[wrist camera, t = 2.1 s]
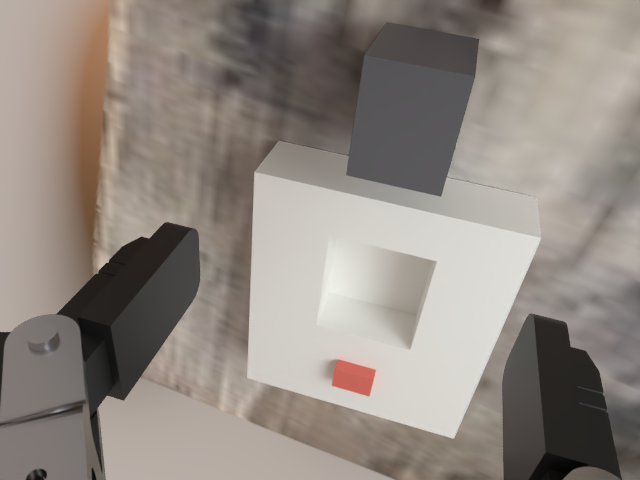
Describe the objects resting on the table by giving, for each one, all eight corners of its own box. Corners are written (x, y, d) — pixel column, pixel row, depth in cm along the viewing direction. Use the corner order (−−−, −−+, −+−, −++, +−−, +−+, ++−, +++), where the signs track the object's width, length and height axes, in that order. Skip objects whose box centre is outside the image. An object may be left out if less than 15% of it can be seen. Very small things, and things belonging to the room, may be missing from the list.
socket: (278, 140, 30) (248, 179, 26) (536, 197, 28) (542, 248, 24) (266, 338, 39) (242, 387, 36) (457, 392, 37) (453, 449, 34)
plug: (391, 14, 25) (363, 55, 19) (479, 30, 24) (474, 76, 19) (374, 116, 28) (345, 175, 22) (452, 132, 27) (441, 196, 22)
